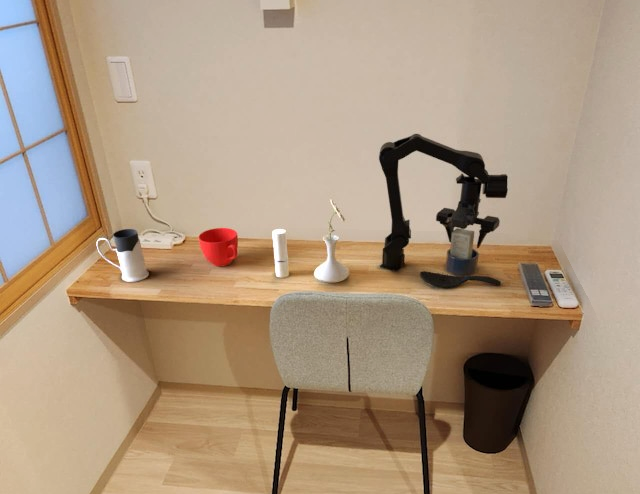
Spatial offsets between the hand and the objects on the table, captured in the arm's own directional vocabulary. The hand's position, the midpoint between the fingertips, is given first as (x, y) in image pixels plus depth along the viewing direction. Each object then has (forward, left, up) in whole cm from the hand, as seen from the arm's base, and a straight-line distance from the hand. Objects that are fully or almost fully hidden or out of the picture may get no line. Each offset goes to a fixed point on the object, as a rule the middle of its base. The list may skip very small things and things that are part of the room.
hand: (464, 244), depth 175 cm
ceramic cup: (-70, -38, -8) cm, 80 cm away
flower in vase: (-33, -27, -8) cm, 44 cm away
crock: (0, 0, -8) cm, 8 cm away
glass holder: (-92, -62, -8) cm, 111 cm away
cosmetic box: (-1, 0, -8) cm, 8 cm away
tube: (-48, -34, -8) cm, 59 cm away
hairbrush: (+4, -10, -8) cm, 14 cm away
